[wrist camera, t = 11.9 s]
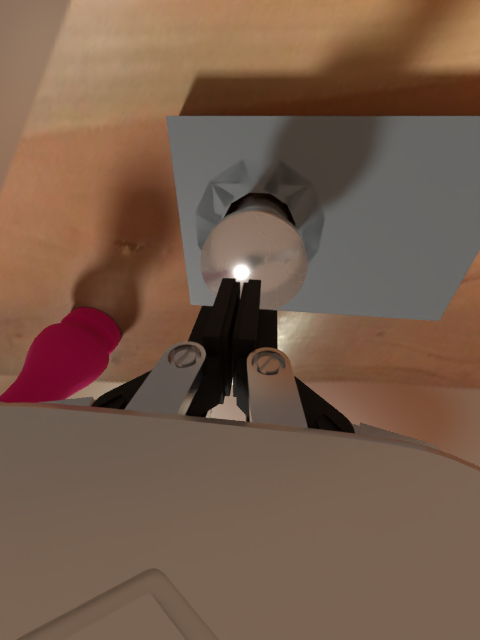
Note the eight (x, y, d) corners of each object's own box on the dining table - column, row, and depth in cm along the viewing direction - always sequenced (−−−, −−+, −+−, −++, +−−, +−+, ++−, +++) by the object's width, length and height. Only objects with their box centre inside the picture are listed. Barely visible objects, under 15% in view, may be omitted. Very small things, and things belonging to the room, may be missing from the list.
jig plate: (521, 117, 16) (555, 115, 14) (426, 304, 25) (439, 320, 23) (178, 117, 18) (166, 115, 16) (197, 291, 27) (190, 304, 25)
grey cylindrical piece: (302, 182, 20) (316, 215, 13) (292, 257, 23) (299, 316, 16) (223, 180, 20) (195, 211, 13) (226, 254, 24) (204, 309, 17)
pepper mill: (71, 291, 28) (-190, 503, 13) (133, 324, 30) (-26, 545, 14) (60, 331, 32) (-149, 531, 17) (115, 358, 34) (-25, 562, 18)
